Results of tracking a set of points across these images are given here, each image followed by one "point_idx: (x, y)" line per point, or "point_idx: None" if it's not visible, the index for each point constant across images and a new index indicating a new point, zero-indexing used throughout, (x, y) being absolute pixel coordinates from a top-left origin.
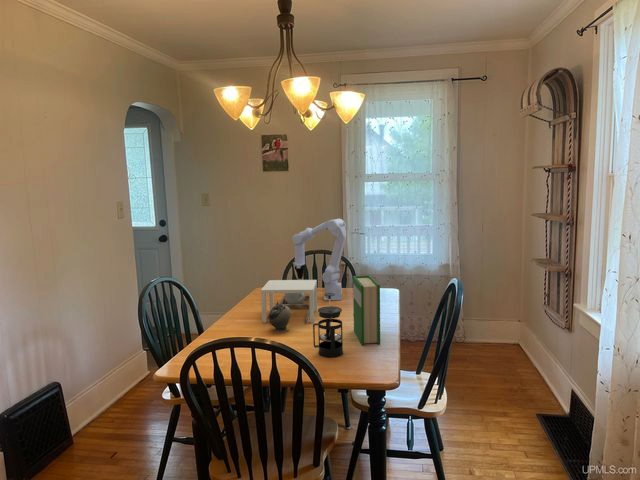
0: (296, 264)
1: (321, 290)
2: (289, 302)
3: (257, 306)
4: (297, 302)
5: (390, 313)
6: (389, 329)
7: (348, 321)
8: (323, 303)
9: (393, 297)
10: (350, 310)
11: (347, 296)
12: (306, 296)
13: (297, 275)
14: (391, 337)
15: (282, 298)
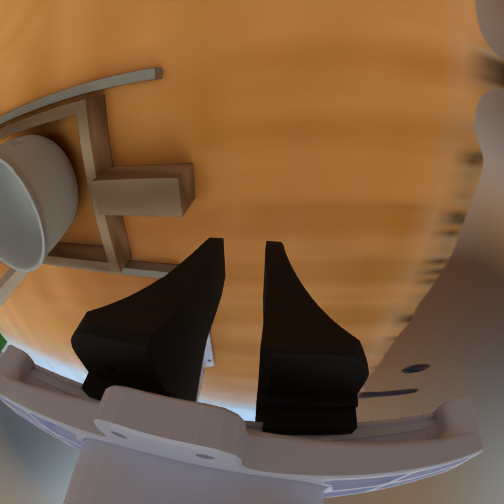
0: (12, 399)
1: (352, 302)
2: (8, 170)
3: (14, 14)
4: (18, 207)
5: None
6: None
7: (11, 324)
8: (97, 298)
9: None
10: (69, 348)
11: (219, 376)
12: (104, 243)
13: (186, 258)
14: (4, 351)
15: (84, 86)
